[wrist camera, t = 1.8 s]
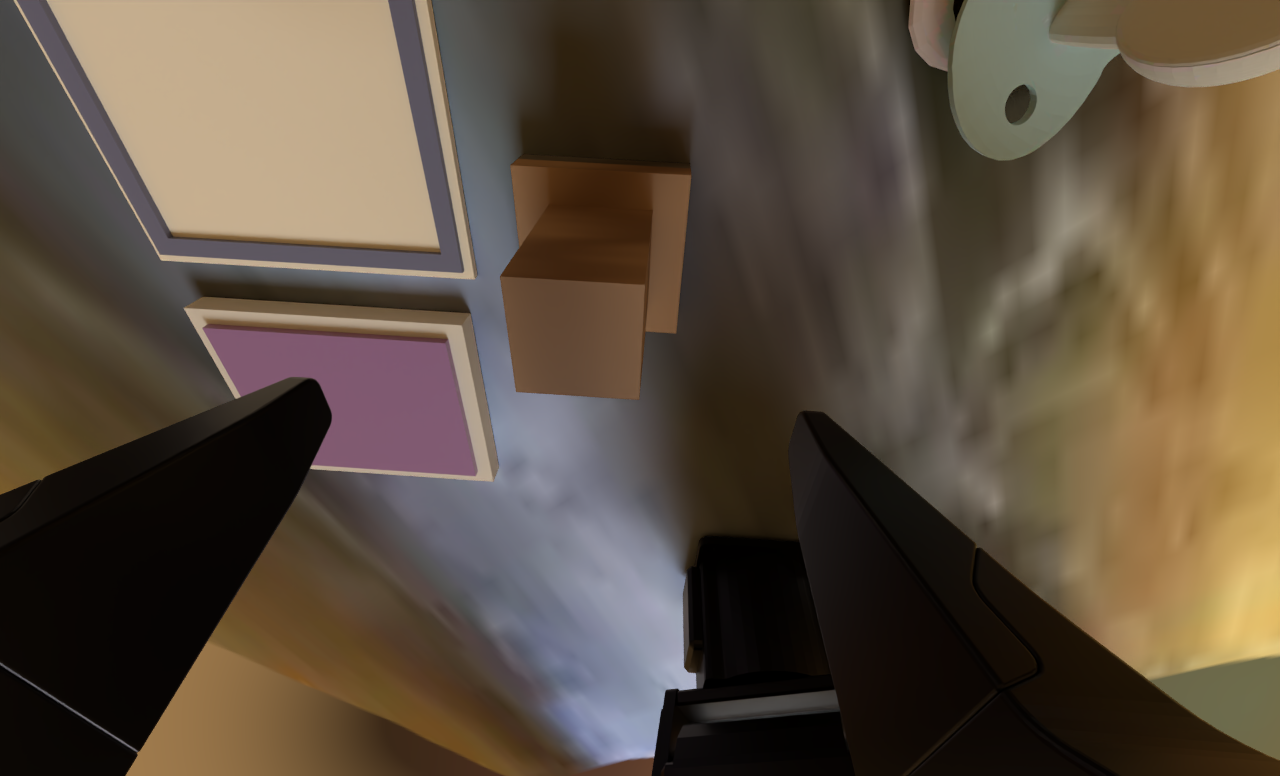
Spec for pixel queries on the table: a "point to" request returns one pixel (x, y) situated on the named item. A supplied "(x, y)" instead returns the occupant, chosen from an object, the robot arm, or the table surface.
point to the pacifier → (1081, 55)
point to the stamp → (592, 270)
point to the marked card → (271, 128)
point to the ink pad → (365, 380)
